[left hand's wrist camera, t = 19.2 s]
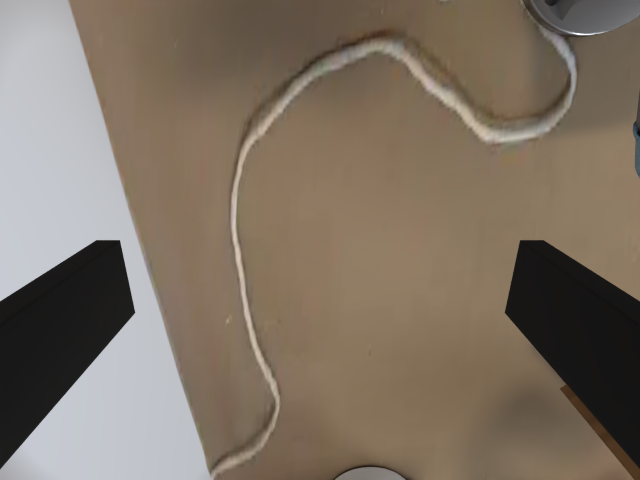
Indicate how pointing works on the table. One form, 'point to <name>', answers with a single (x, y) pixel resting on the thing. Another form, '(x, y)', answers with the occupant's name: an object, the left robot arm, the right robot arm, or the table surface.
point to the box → (603, 434)
